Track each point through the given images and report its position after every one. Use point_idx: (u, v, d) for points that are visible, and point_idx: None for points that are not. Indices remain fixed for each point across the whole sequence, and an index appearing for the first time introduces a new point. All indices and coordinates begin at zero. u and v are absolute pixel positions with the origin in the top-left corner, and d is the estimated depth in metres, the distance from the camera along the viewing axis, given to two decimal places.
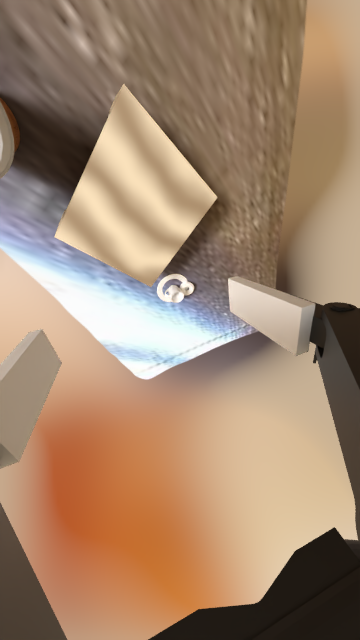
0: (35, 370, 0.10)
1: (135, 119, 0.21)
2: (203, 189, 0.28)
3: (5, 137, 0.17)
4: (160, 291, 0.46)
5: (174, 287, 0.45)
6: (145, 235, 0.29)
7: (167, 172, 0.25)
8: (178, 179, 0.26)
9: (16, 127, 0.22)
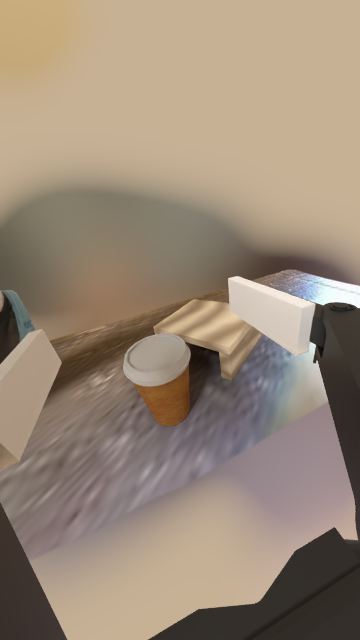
0: (35, 370, 0.10)
1: (164, 323, 0.43)
2: (190, 303, 0.51)
3: None
4: None
5: None
6: (219, 314, 0.42)
7: (184, 313, 0.46)
8: (186, 310, 0.47)
9: None
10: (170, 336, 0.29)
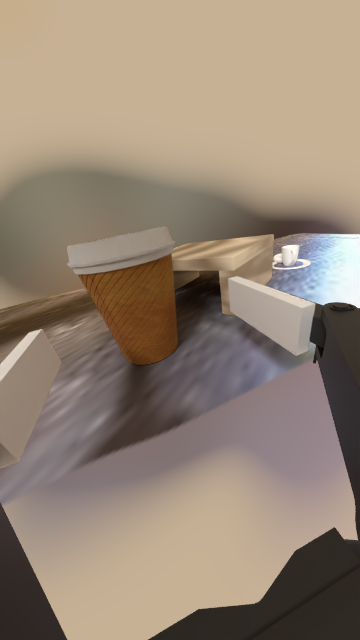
0: (35, 370, 0.10)
1: None
2: (183, 245, 0.41)
3: None
4: (297, 267, 0.39)
5: (283, 257, 0.41)
6: (219, 244, 0.33)
7: (174, 250, 0.36)
8: (178, 248, 0.38)
9: None
10: None
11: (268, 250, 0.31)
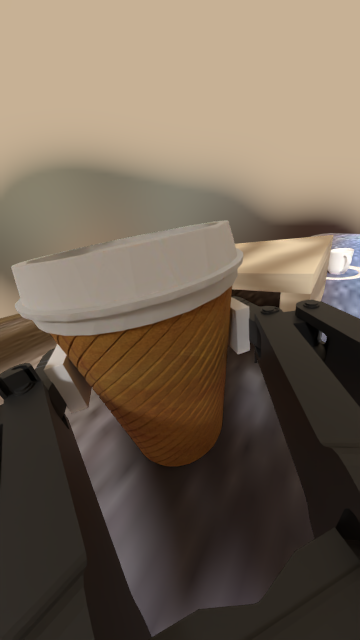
0: None
1: None
2: None
3: None
4: (352, 277, 0.30)
5: (330, 264, 0.32)
6: (258, 249, 0.24)
7: None
8: None
9: None
10: (175, 232, 0.11)
11: (328, 256, 0.23)
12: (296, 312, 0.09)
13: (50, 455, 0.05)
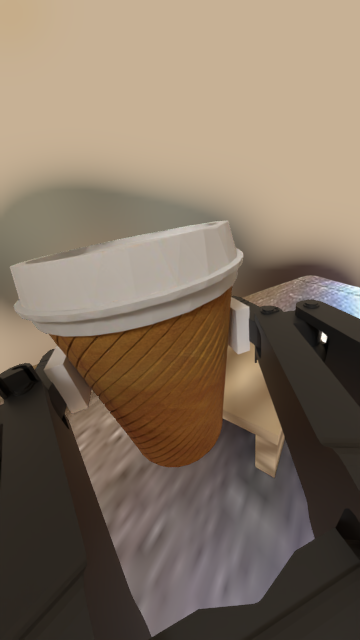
0: None
1: None
2: None
3: None
4: None
5: None
6: None
7: None
8: None
9: None
10: (175, 232, 0.11)
11: None
12: (296, 312, 0.09)
13: (51, 454, 0.05)
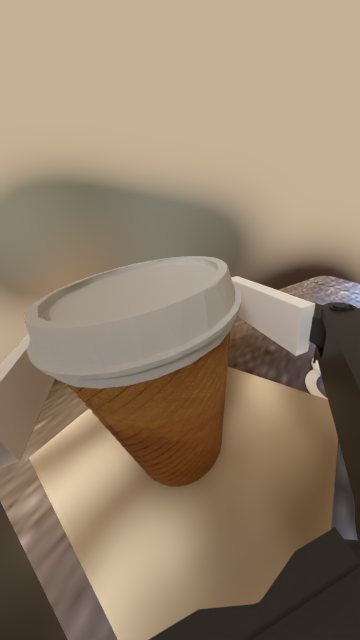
0: (35, 370, 0.10)
1: (64, 442, 0.15)
2: None
3: None
4: None
5: None
6: None
7: None
8: None
9: None
10: (176, 261, 0.12)
11: None
12: None
13: None
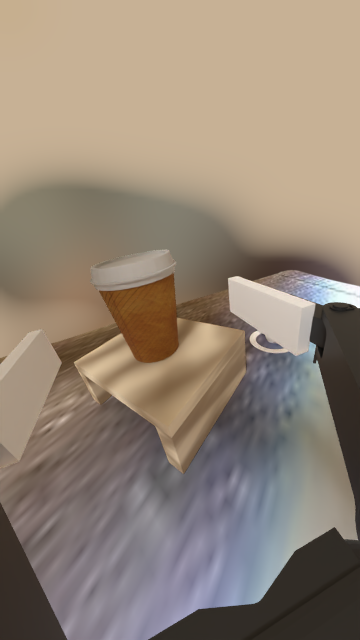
0: (35, 370, 0.10)
1: (92, 356, 0.27)
2: None
3: None
4: (282, 350, 0.33)
5: None
6: None
7: None
8: None
9: None
10: (152, 252, 0.24)
11: (237, 353, 0.25)
12: None
13: None
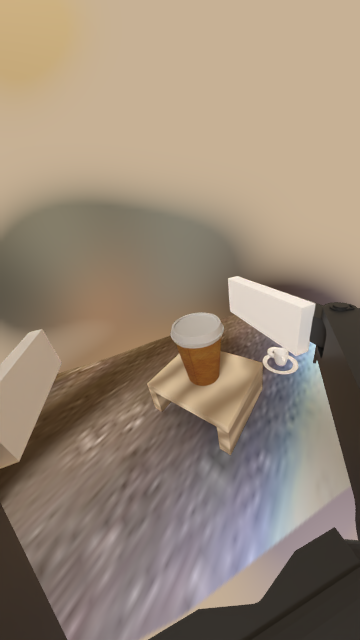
0: (35, 370, 0.10)
1: (159, 378, 0.40)
2: None
3: None
4: (287, 371, 0.46)
5: (275, 359, 0.48)
6: None
7: (180, 364, 0.43)
8: None
9: None
10: (204, 314, 0.37)
11: (258, 378, 0.38)
12: None
13: None
